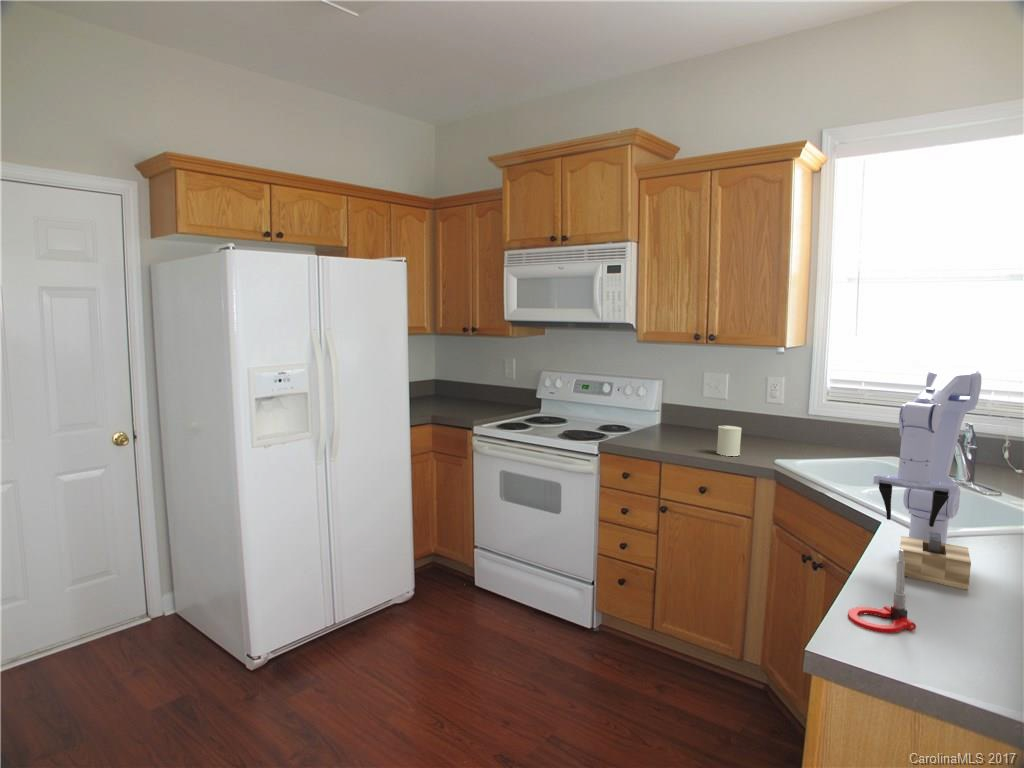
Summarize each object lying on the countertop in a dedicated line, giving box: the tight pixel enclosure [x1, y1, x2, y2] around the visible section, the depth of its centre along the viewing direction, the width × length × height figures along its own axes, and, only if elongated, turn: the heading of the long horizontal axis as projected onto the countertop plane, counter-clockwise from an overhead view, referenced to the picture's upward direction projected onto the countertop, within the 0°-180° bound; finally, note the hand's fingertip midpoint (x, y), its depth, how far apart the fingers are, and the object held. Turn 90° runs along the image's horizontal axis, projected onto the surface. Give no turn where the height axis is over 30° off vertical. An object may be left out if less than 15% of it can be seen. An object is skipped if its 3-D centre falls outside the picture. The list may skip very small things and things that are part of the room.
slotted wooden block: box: [899, 535, 972, 590], centre depth 132 cm, size 11×12×6 cm
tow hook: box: [847, 548, 917, 634], centre depth 108 cm, size 8×13×9 cm
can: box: [716, 425, 742, 456], centre depth 257 cm, size 9×9×12 cm
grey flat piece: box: [928, 532, 941, 554], centre depth 132 cm, size 7×2×7 cm, turn 147°
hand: (909, 522), depth 134 cm, fingers open, 7 cm apart
